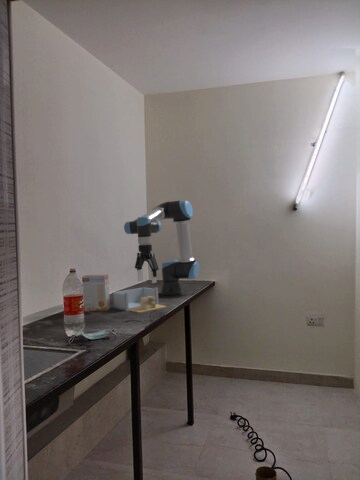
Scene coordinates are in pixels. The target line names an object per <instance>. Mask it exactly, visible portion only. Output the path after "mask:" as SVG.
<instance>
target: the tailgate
mask: <svg viewBox="0 0 360 480" xmlns="http://www.w3.org/2000/svg"><path fill="white" fill-rule="evenodd" d="M155 307H156V308H152V309H142V308H141V307H140V308H135V309H130V310H129V311H130V312H133V313H139V314H140V313H144V312H145V313H146V312H149V311H150V312H151V311H154V310H160V309H164V308H168V306H167V305H163V304H159V305H158V304H156V305H155Z"/></svg>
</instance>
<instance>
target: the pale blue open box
mask: <svg viewBox="0 0 360 480" xmlns="http://www.w3.org/2000/svg"><path fill="white" fill-rule="evenodd" d="M146 296H152V297H155V299H156V301H155V305H156V304H158V305H160V304H159V302H160V301H159V289H158V287H154V288H150V287H138V288H133V289H132V288H131V289H125V290H120V291H119V290H118V291H113V292H112V302H113V303H112V305H113V308H112V309H118V310H120V311H121V310H122V311H125V312H128V311H130V309H135V308H140V307H141V304H140V298H141V297H146Z"/></svg>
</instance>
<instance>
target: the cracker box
mask: <svg viewBox="0 0 360 480" xmlns="http://www.w3.org/2000/svg"><path fill="white" fill-rule="evenodd" d="M81 279H82V280H81V281H82V282H81V283H82V295H83V294H84V302H83V312H84V311H85V312H84V313H93V312H95V311H99V312H100V311H101V312H103V311H106V312H107V311H108V310H110V309H111V301H110V286H109V285H110V283H109V274H90V275H83V276H81Z"/></svg>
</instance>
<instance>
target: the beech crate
mask: <svg viewBox="0 0 360 480" xmlns="http://www.w3.org/2000/svg"><path fill="white" fill-rule="evenodd" d="M155 301H156V299H155V297H152V296H146V297H141V298H140V304H141V308H142V309H152V308H156V307H155Z"/></svg>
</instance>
